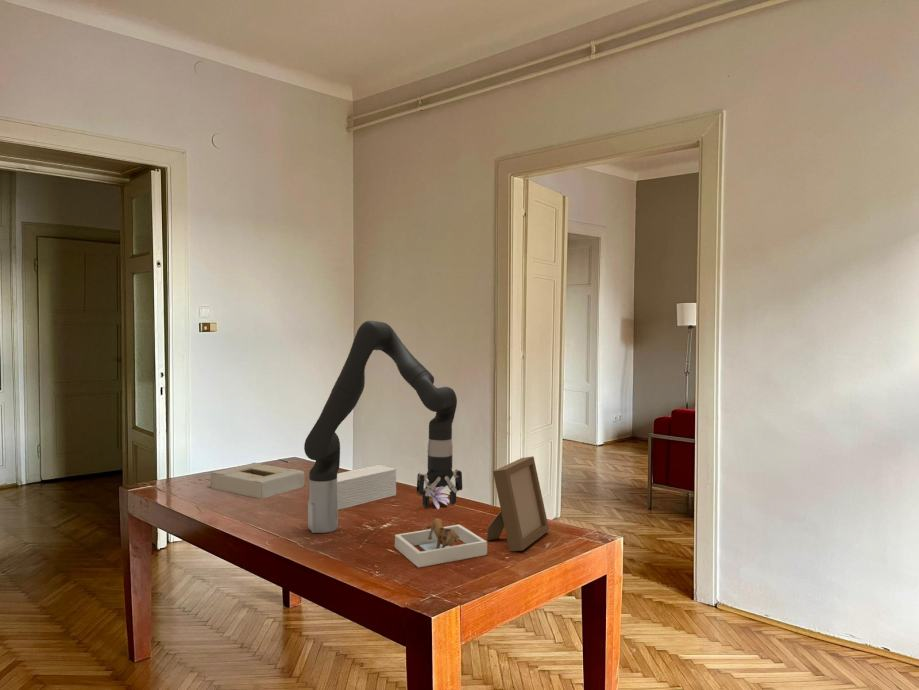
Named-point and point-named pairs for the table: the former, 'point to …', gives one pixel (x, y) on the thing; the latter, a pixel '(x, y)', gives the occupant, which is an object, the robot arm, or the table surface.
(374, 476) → the stack of papers
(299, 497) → the table surface
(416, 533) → the low pen
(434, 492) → the water lily
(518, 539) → the photo frame
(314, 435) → the robot arm
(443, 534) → the lion figurine
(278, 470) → the box
